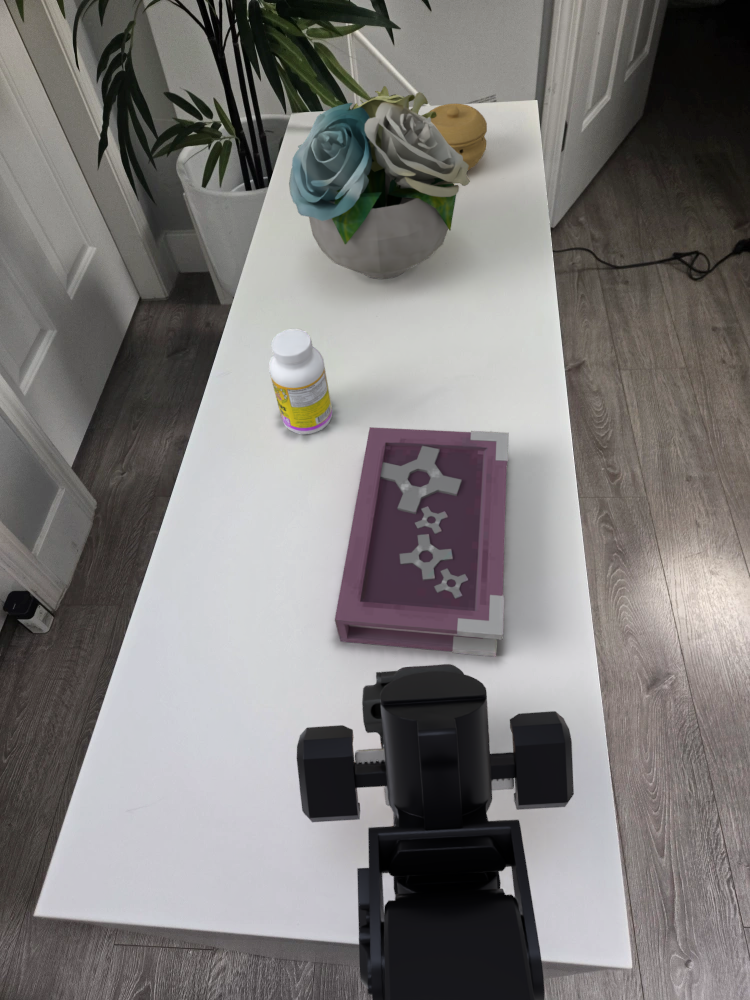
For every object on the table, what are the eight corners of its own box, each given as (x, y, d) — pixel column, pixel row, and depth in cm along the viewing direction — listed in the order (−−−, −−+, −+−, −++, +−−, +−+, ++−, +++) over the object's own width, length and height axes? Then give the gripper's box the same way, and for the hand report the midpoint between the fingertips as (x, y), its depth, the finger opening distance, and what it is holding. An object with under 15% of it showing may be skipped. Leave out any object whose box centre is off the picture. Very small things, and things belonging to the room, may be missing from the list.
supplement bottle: (281, 402, 94) (262, 326, 83) (331, 395, 94) (317, 318, 84) (283, 440, 90) (262, 364, 80) (335, 433, 90) (321, 357, 80)
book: (499, 657, 71) (503, 635, 66) (340, 642, 73) (334, 620, 69) (505, 460, 85) (508, 432, 81) (372, 453, 87) (369, 425, 83)
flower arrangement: (470, 311, 102) (477, 142, 82) (298, 319, 104) (264, 155, 84) (461, 213, 116) (466, 49, 97) (311, 221, 118) (285, 62, 99)
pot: (429, 189, 121) (428, 130, 113) (411, 155, 128) (409, 98, 120) (494, 175, 122) (498, 116, 114) (473, 143, 129) (475, 85, 121)
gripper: (593, 694, 41) (538, 609, 56) (272, 715, 41) (304, 626, 57) (600, 869, 42) (544, 740, 58) (291, 887, 43) (318, 755, 59)
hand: (428, 712), depth 58 cm, fingers closed, pressing on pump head
